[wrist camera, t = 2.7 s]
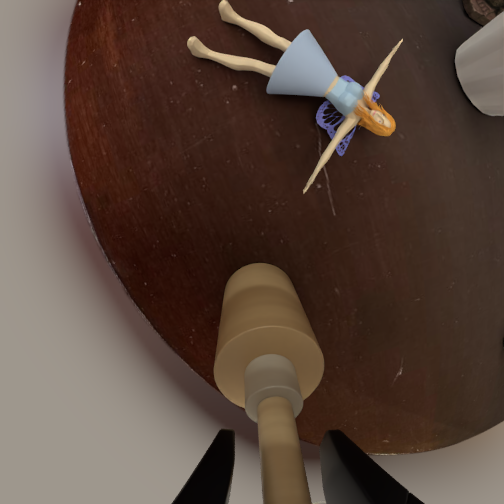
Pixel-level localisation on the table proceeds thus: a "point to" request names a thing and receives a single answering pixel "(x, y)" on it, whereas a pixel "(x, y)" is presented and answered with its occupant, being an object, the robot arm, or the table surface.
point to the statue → (483, 9)
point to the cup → (484, 67)
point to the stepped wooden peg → (277, 428)
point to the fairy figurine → (309, 81)
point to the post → (264, 330)
